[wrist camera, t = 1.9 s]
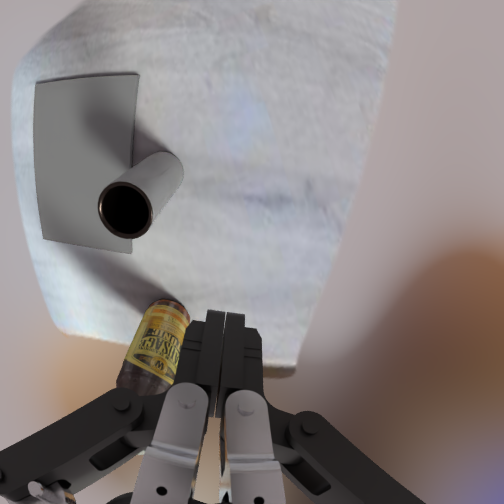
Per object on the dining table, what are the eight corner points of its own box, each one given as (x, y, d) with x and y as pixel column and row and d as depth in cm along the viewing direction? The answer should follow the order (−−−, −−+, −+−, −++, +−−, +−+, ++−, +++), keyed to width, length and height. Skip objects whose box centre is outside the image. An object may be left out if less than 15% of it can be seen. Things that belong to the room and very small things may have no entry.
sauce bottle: (200, 313, 37) (176, 456, 20) (176, 336, 40) (148, 464, 23) (159, 286, 35) (108, 429, 18) (137, 312, 38) (91, 440, 21)
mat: (38, 84, 22) (35, 84, 21) (139, 75, 23) (137, 75, 22) (45, 236, 32) (43, 239, 31) (132, 251, 33) (130, 254, 32)
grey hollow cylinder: (152, 199, 29) (114, 247, 21) (135, 161, 27) (87, 195, 18) (190, 184, 29) (163, 229, 20) (174, 144, 27) (136, 171, 18)
